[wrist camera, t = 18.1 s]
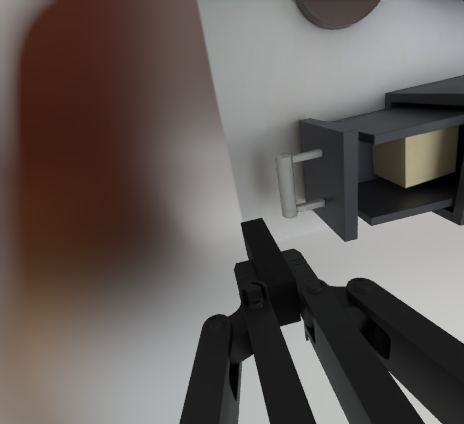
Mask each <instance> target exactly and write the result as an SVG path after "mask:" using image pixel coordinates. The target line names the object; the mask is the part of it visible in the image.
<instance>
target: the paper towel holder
mask: <svg viewBox="0 0 464 424" xmlns="http://www.w3.org/2000/svg"><path fill="white" fill-rule="evenodd" d="M295 1H296V3H297V5H298V7H299V9H300V10H301V12H302V13H303V14H304V15H305V17H306V18H307V19H308V20H310V21H311V22H312V23H314V24H316V25H317V26H320V27H323V28H327V29H339V28H343V27H346V26H349V25H351V24H353V23H356V22H358V21H360V20H361V19H363V18H364V17H366V16H367V15H368V14H369V13H370V12H371V11H372V10H373V9H374V8H375V7H376V6H377V5H378V3H379V2H380V1H381V0H295Z"/></svg>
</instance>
